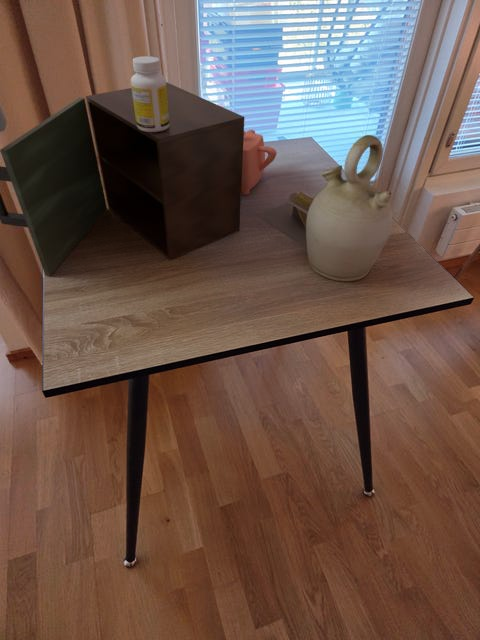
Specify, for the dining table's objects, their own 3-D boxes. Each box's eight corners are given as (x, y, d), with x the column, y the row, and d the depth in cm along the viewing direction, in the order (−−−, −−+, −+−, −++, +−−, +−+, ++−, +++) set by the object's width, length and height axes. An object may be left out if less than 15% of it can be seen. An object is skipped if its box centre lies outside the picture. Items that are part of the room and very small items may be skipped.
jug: (287, 249, 87) (305, 123, 69) (351, 237, 91) (383, 116, 73) (322, 295, 76) (354, 161, 59) (392, 278, 81) (441, 150, 63)
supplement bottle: (164, 119, 72) (158, 54, 65) (173, 131, 68) (169, 62, 61) (133, 123, 70) (124, 55, 63) (141, 134, 67) (132, 65, 60)
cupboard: (170, 260, 82) (158, 138, 66) (108, 207, 96) (85, 96, 79) (239, 230, 91) (244, 116, 75) (173, 186, 104) (165, 81, 88)
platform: (309, 251, 86) (314, 223, 82) (255, 213, 96) (257, 187, 92) (348, 234, 92) (355, 207, 87) (294, 200, 102) (297, 174, 97)
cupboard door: (11, 270, 78) (-43, 144, 62) (75, 204, 96) (46, 93, 80) (50, 276, 77) (5, 150, 61) (107, 208, 95) (84, 97, 79)
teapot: (250, 167, 114) (253, 116, 105) (279, 192, 104) (284, 139, 95) (193, 177, 109) (191, 124, 99) (218, 205, 99) (218, 149, 89)
